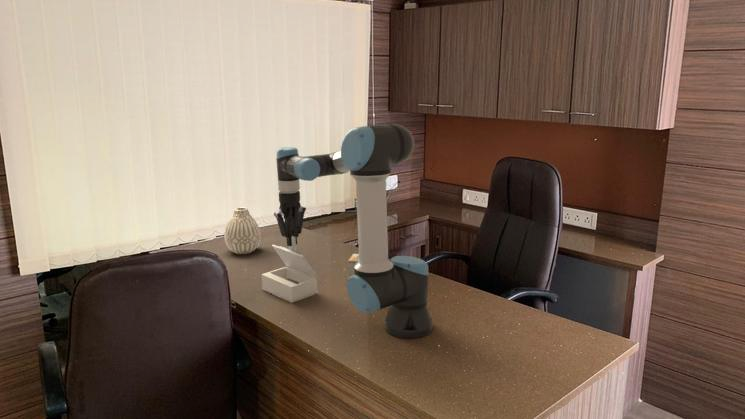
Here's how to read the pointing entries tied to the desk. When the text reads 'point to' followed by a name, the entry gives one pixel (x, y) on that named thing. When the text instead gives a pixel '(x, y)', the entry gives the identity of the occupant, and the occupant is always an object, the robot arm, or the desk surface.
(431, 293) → the desk surface
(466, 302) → the desk surface
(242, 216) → the vase
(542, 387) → the desk surface
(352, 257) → the supplement box
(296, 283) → the plug block
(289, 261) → the cover
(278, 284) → the open white tray
